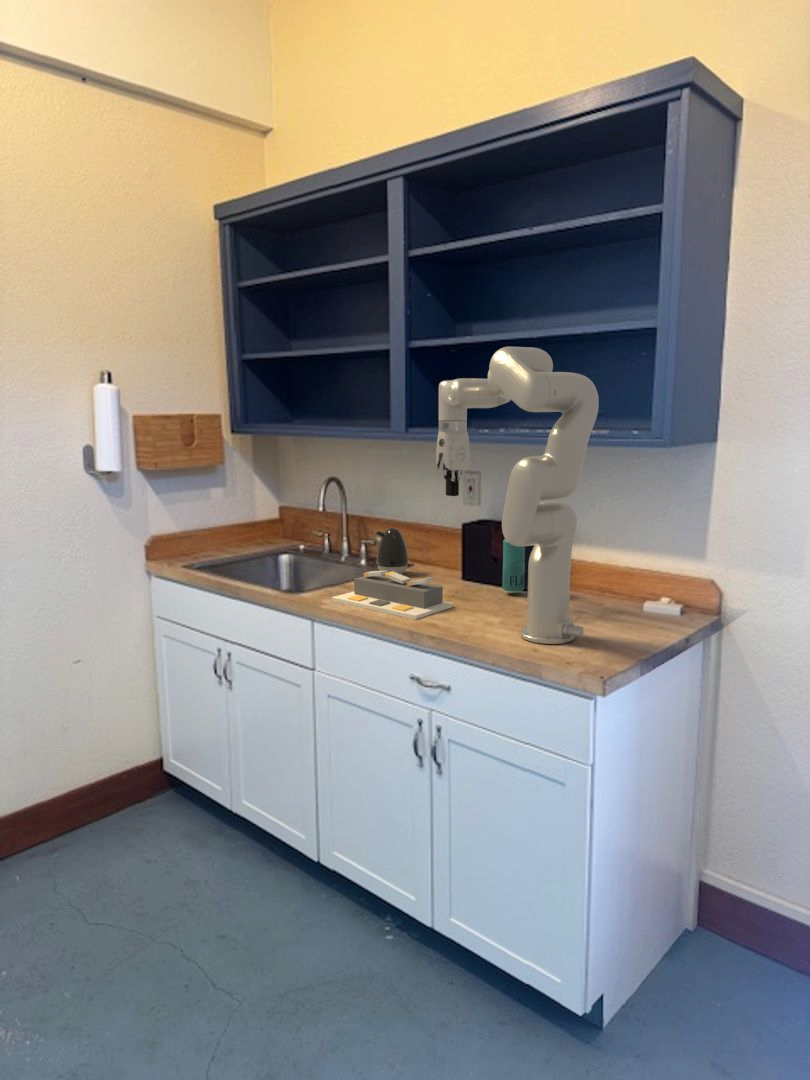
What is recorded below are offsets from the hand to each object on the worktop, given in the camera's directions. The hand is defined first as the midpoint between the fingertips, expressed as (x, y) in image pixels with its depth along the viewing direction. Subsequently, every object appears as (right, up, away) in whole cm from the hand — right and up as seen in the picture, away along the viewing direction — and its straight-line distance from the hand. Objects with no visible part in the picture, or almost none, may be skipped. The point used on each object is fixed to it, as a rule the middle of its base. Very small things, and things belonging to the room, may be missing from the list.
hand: (452, 495), depth 206 cm
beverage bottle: (+18, -28, +11) cm, 35 cm away
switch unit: (-17, -29, +1) cm, 34 cm away
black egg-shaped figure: (-17, -23, +37) cm, 47 cm away
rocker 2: (-9, -23, -4) cm, 25 cm away
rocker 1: (-21, -22, +7) cm, 31 cm away
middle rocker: (-15, -22, +1) cm, 27 cm away
